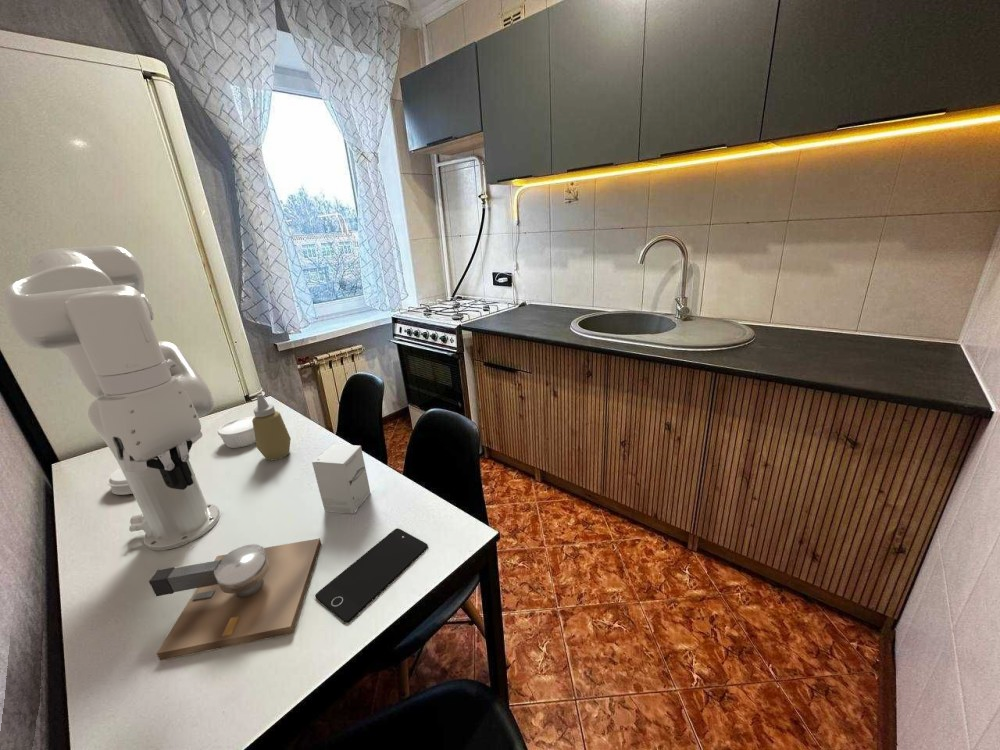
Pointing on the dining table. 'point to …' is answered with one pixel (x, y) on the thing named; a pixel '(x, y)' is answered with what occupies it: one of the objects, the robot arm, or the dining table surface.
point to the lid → (119, 483)
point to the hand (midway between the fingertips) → (181, 485)
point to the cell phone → (370, 574)
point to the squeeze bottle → (270, 431)
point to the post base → (246, 605)
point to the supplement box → (341, 478)
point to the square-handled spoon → (215, 573)
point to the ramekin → (238, 432)
